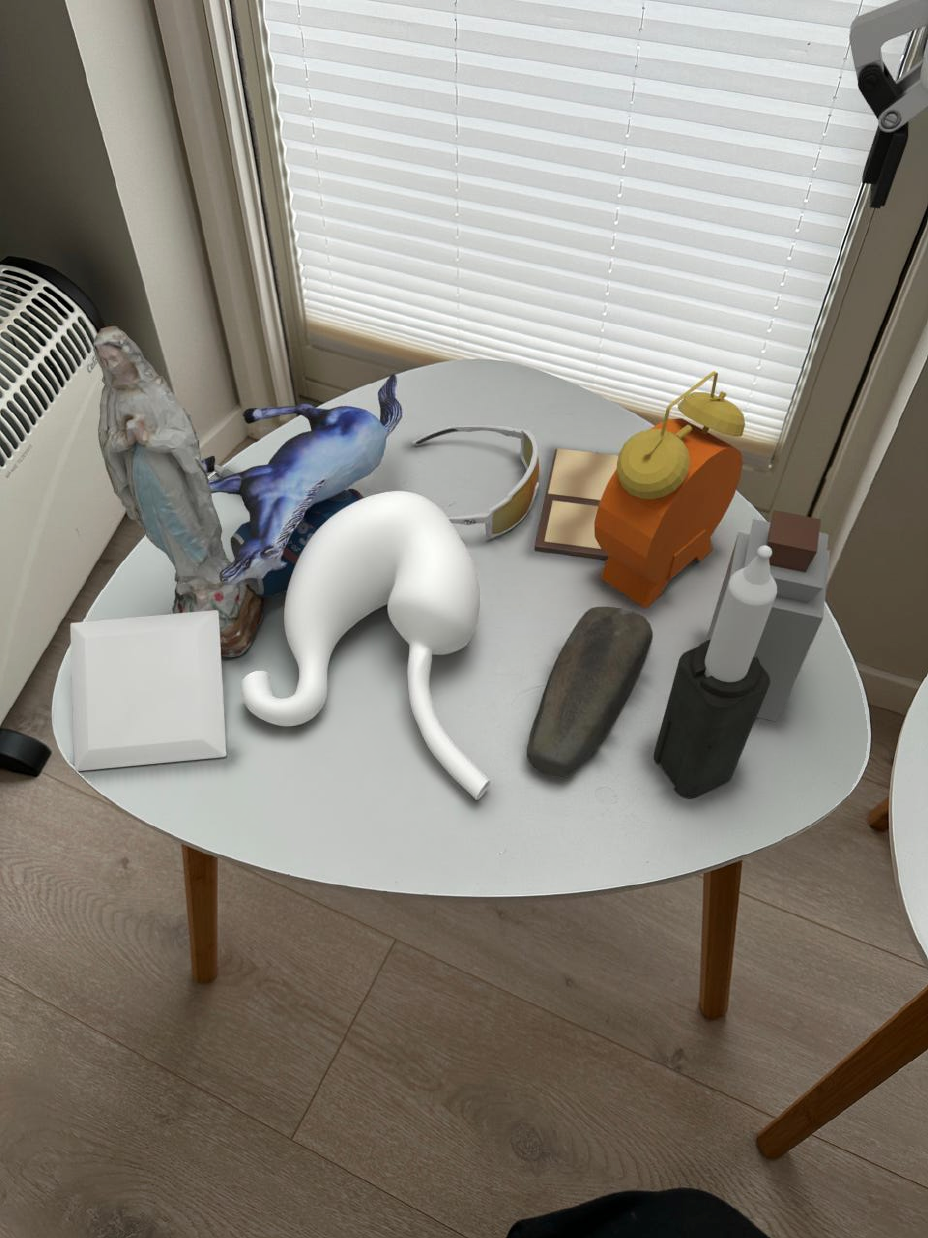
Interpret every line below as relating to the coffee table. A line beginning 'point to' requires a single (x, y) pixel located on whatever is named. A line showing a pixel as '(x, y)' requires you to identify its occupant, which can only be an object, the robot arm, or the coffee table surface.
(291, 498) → the toy
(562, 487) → the brown picture frame
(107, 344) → the statue
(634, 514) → the alarm clock
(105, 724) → the white chamfered tile
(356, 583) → the stomach
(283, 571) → the soda can
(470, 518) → the sunglasses
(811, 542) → the perfume bottle
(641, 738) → the coffee table surface
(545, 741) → the decorative stone
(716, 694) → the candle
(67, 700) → the coffee table surface
